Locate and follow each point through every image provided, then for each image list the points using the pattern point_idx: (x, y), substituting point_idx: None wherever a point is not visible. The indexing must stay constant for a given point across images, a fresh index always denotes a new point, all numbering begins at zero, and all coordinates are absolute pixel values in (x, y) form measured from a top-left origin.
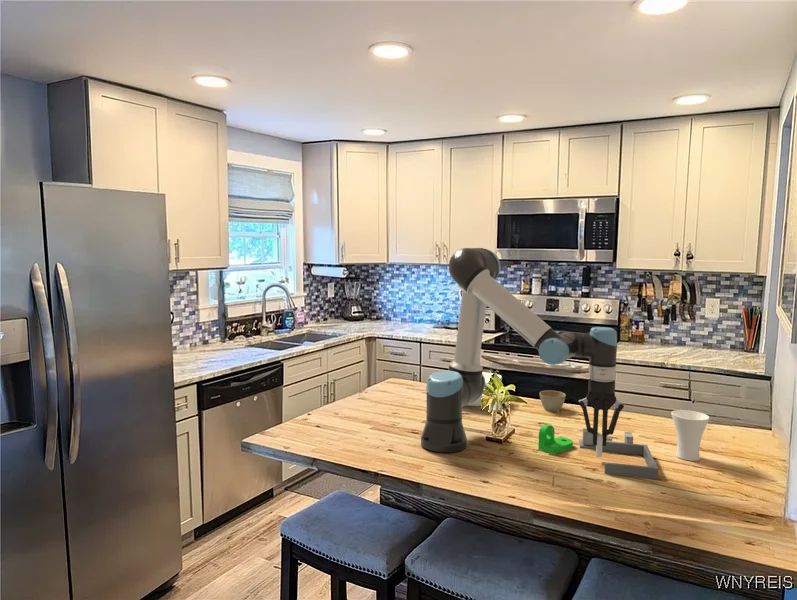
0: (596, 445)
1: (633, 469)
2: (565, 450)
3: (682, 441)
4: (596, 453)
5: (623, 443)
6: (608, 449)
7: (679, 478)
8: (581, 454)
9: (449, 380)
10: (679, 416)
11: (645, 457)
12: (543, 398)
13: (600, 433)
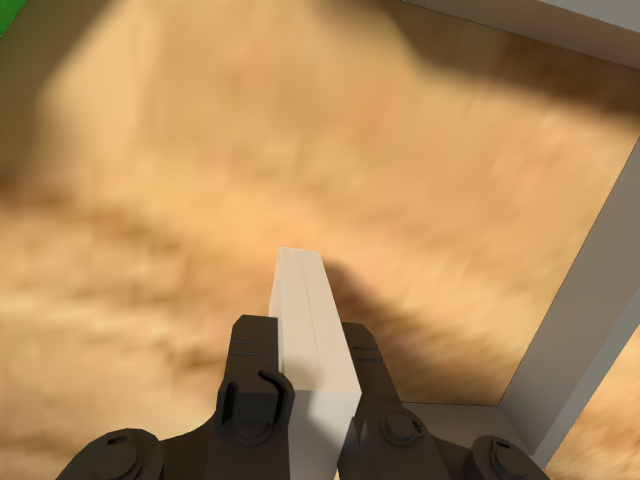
0: (277, 306)
1: None
2: (17, 12)
3: None
4: (272, 299)
5: (633, 20)
6: (452, 8)
7: (608, 391)
8: (180, 118)
9: None
10: None
11: (629, 204)
12: None
13: (338, 397)
